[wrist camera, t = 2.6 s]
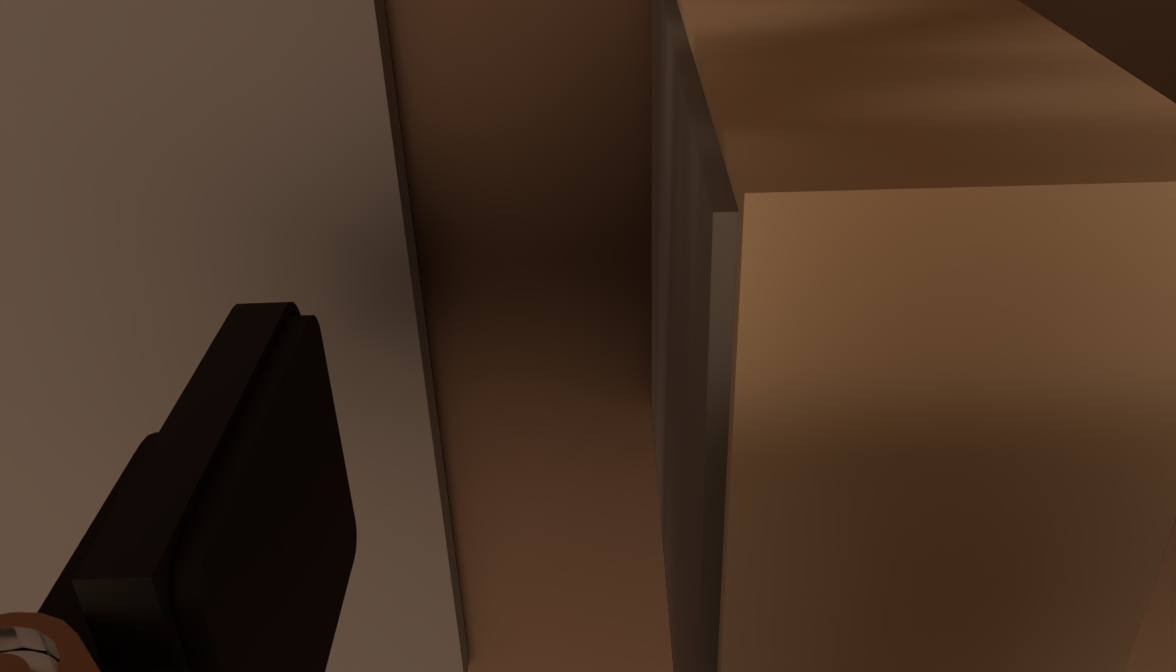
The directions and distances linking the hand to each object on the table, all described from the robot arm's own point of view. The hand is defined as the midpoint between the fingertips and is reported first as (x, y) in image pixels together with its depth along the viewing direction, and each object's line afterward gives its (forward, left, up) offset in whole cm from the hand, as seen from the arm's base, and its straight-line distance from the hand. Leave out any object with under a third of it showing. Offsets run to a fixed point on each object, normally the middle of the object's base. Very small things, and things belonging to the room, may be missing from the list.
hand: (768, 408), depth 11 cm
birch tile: (-1, 0, -5) cm, 5 cm away
